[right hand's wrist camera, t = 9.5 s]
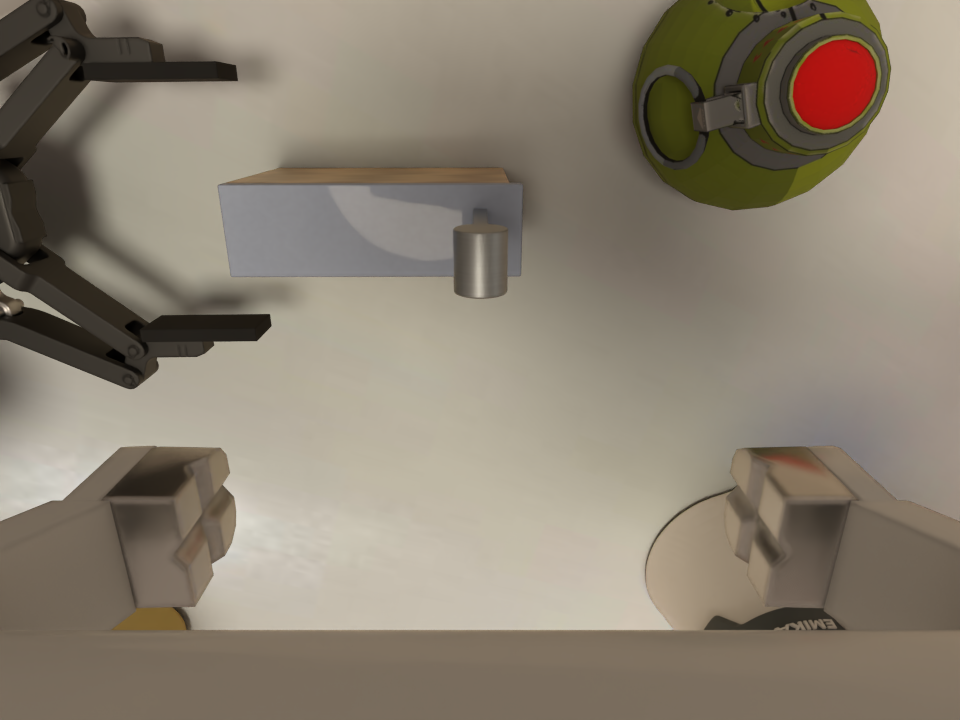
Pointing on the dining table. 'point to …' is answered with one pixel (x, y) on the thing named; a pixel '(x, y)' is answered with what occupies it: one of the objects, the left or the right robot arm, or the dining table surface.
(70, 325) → the left robot arm
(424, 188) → the lid
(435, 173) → the brown rectangular box
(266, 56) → the dining table surface
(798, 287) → the dining table surface
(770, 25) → the grenade
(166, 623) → the paper tube
